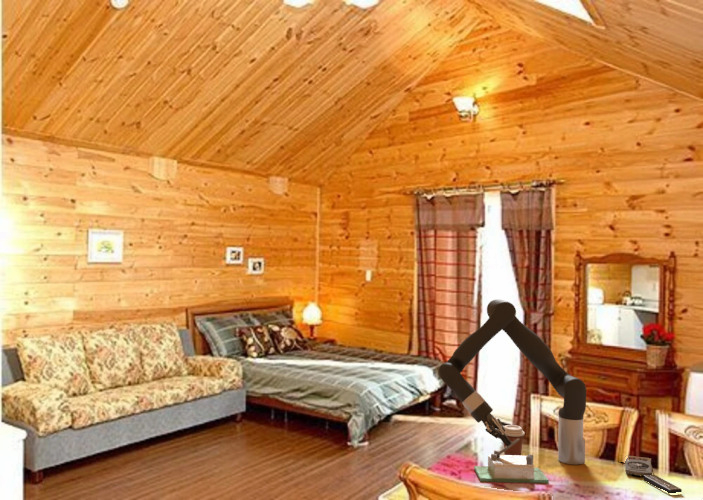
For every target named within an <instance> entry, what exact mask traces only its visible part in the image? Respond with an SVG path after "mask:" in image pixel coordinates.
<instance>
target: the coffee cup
mask: <svg viewBox="0 0 703 500" xmlns="http://www.w3.org/2000/svg"><path fill="white" fill-rule="evenodd" d="M503 427H504V429H505V434H506V436H507V437H508V438H509V439H510V440H511V441H512V442H513V441H515V440H516V439H517V438H519V439H520V440H519V442H517V443H516V444H514V445H513V446H511V447H510V448H509V449H507V450H506V451H504V452H503V455H521V456H522V452H523V451H522V449H523V439H524V436H525V433H526V432H525V431H524V430H523V427H521V426H519V425H515V424H507V425H503ZM505 447H506V445H505V444H504V443H503V448H505Z"/></svg>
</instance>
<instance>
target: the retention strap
mask: <svg viewBox="0 0 703 500" xmlns="http://www.w3.org/2000/svg"><path fill="white" fill-rule="evenodd" d="M519 440H520V439H519V438H517V439H516V440H515V441H513V442H512V443H511V444H510V445H508V446H506V447H505V448H504V447H503V448H502V449H500V450H498V451H499V452H498V453H496V455H497V456H499V455H502V454H504V451H506V450H507V449H509V448H510V447H511V446H513V445H514V444H516V443H517V442H519Z"/></svg>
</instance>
